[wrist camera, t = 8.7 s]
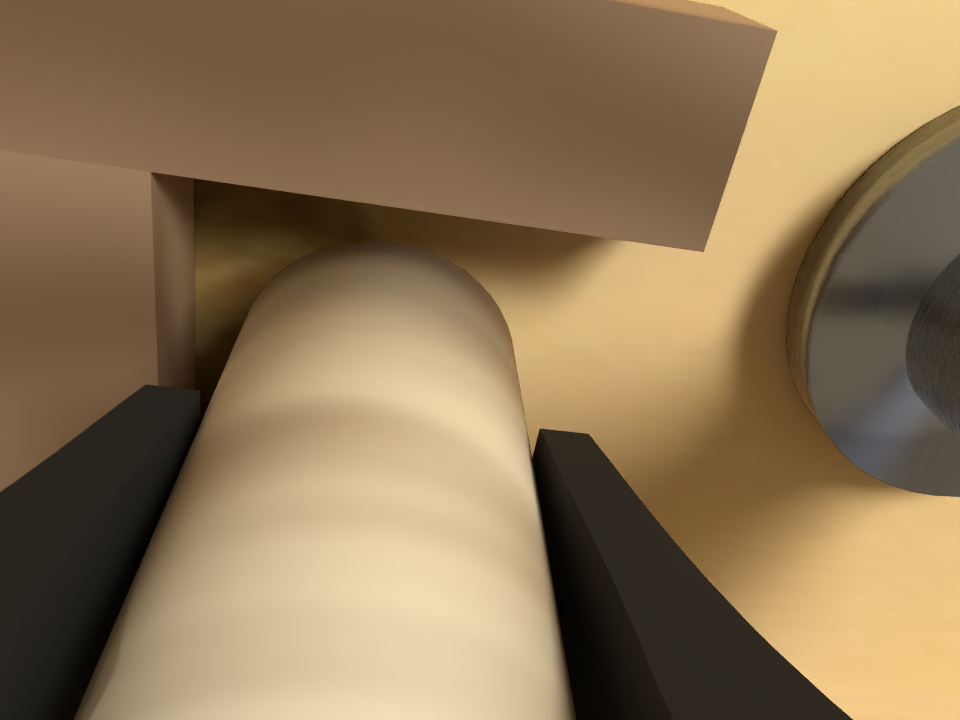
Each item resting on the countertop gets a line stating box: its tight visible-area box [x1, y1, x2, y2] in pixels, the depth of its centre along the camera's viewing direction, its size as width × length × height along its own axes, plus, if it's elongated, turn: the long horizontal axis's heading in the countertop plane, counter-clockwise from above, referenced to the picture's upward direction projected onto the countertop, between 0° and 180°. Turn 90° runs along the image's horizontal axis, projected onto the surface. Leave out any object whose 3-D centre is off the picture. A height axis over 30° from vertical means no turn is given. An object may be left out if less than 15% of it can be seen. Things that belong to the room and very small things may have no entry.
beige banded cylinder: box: [73, 241, 576, 720], centre depth 8 cm, size 4×4×8 cm
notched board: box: [0, 0, 777, 492], centre depth 12 cm, size 11×12×2 cm
